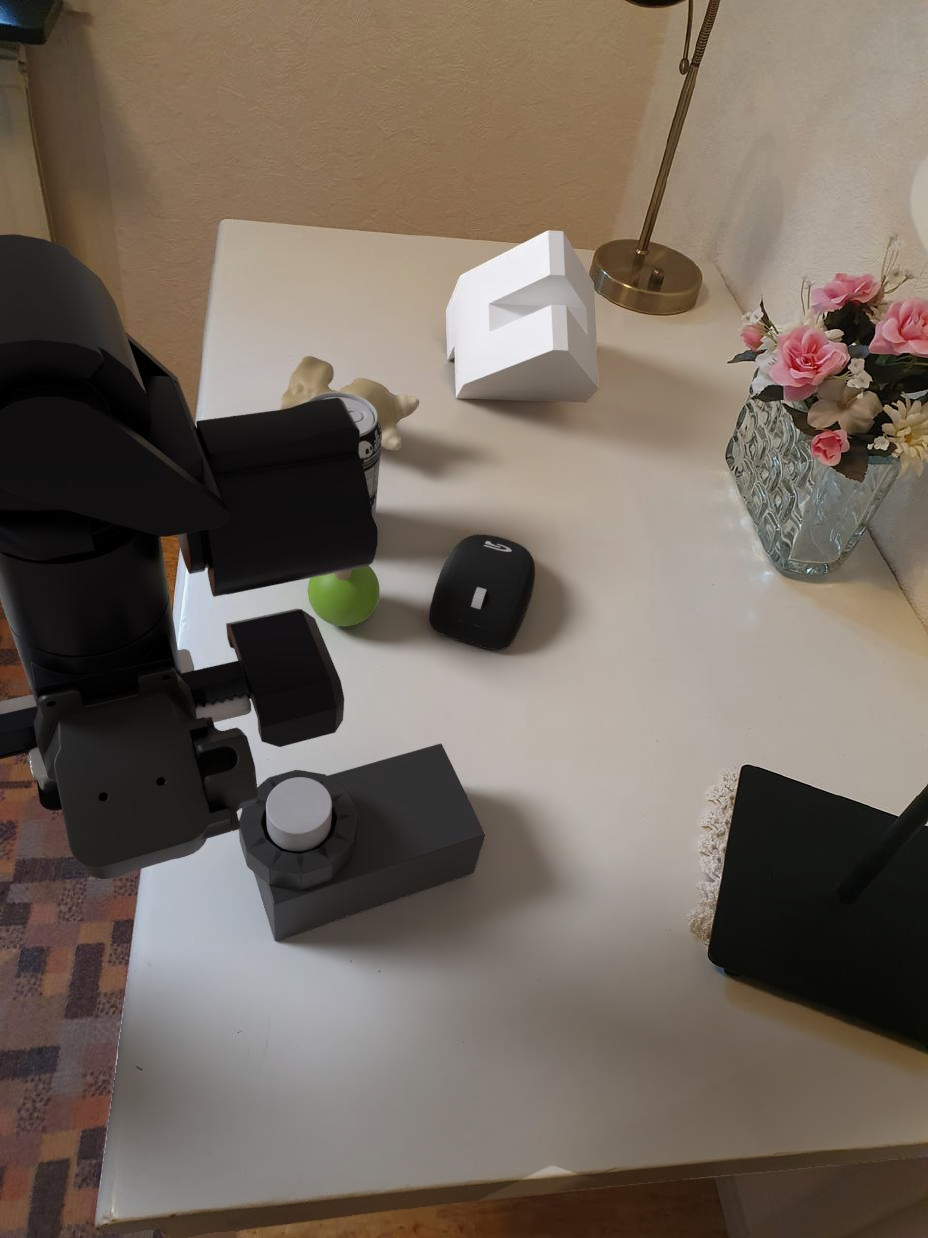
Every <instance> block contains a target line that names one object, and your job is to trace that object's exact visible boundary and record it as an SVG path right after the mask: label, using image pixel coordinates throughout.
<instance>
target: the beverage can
mask: <svg viewBox="0 0 928 1238" xmlns="http://www.w3.org/2000/svg"><path fill="white" fill-rule="evenodd" d="M337 397H338V398H340V399H341V400H343V401H344V403H345V405H346V407H347V409H348V410H349V412H350V414H351V416H352V418H353V419H354V421H355V423H356V425H357V427H358V429H359V430H360V439H359V456H360V459H361V462H362V466H363V469H364V473H365V476H366V481H367V486H368V491H369V496H370V504H371V511H372V517H373V519H374V521H375V522H376V511H377V499H378V488H379V487H378V486H379V474H380V465H381V464H380V463H381V453H382V452H381V451H382V446H381V441H382V429H381V426H380V424H379V422H378V414H377V411H376V409H375V407H374V406H373V405H372V404H371V403H370V402H369V401H367V400H366V399H364V398H362V397H360V396H357V395H354V394H350V393H345V392H328V393H323V394H319V395H316V396H314V397H312V398H311V399H309V400H308V401H307V402H310V401H315V400H322V399H330V398H337Z"/></svg>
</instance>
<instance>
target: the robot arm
mask: <svg viewBox="0 0 928 1238" xmlns="http://www.w3.org/2000/svg"><path fill="white" fill-rule="evenodd" d="M359 439H360V430H359V429H358V427H357V425H356V423H355V421H354V419H353V418H352V416H351V414H350V412H349V410H348V409H347V407H346V405H345V403H344V401H343V400H341V399H340V398H338V397H337V398H330V399H322V400H315V401H310V402H305V403H303V404H300V405H297V406H294V407H291V408H287V409H282V410H280V409H277V410H275V409H274V410H269V411H268V410H267V411H261V412H252V413H245V414H239V415H238V414H237V415H232V416H230V415H229V416H224V417H215V418H209V419H208V418H207V419H202V420H201V419H200V420H196V421H195V420H194V417H193V415H192V412H191V409H190V407H189V404H188V401H187V398H186V397H185V394H184V391H183V388H182V386H181V383H180V381H179V378H178V376H177V375H176V374H174V373H173V372H172V371H171V370H170V369H169V368H167V367H166V366H165V365H164V364H163V363H162V362H160V360H159V359H157V358H156V357H155V356H154V355H153V354H152V353H150V352H149V350H147V349H146V347H144V346H143V345H142V344H140V343H139V342H138V341H137V340H136V339H135V338H134V337H132V336H131V335H130V333H128V332H127V331H126V329H125V326H124V324H123V321H122V318H121V315H120V312H119V309H118V306H117V303H116V301H115V299H114V298H113V296H112V294H111V293H110V291H109V290H108V288H107V287H106V285H105V283H104V281H103V279H102V278H101V277H99V276H98V275H97V274H96V273H95V272H94V271H93V270H91V269H90V268H89V267H88V266H86V264H84V263H83V261H81V260H80V259H79V258H77V257H76V256H74V255H73V254H72V252H71V251H70V250H69V249H68V248H67V247H64V246H61V245H60V244H58V243H55V242H53V241H50V240H48V239H45V238H39V237H35V236H30V235H29V236H28V235H25V234H24V235H23V234H18V233H17V234H14V233H13V234H10V233H9V234H0V603H1V606H2V609H3V612H4V615H5V618H6V621H7V624H8V627H9V630H10V633H11V635H12V639H13V641H14V645H15V648H16V650H17V653H18V656H19V659H20V662H21V665H22V667H23V670H24V674H25V676H26V680H27V682H28V685H29V688H30V691H31V694H28V695H27V694H26V695H23V696H19V697H14V698H10V699H4V700H0V760H3V759H8V758H11V757H15V756H20V755H24V754H25V757H26V761H27V763H28V765H29V768H30V773H31V775H32V777H33V779H34V780H36V787H37V793H38V799H39V804H40V805H41V806H42V808H43V809H46V810H48V811H51V812H57V811H61V812H62V817H63V820H64V826H65V831H66V835H67V841H68V846H69V850H70V853H71V854H72V856H73V857H74V858H75V860H76V861H77V862H78V864H79V865H80V867H81V868H82V869H83V871H84V872H85V873H86V874H88V876H91V877H92V878H95V879H98V880H109V879H113V878H117V877H121V876H123V875H126V874H129V873H131V872H135V871H137V870H142V869H145V868H148V867H151V866H155V865H158V864H162V863H165V862H169V861H172V860H177V859H181V858H185V857H189V856H191V855H194V854H195V853H197V852H198V851H199V850H200V849H201V848H203V846H204V845H205V843H206V842H207V840H208V839H211V838H214V837H217V836H222V835H225V834H227V833H232V832H235V831H239V829H240V824H239V819H240V818H239V815H238V812H239V810H242V808H244V807H247V806H251V805H254V804H255V802H256V801H257V797H258V790H257V787H258V783H257V772H256V764H255V761H254V757H253V753H252V750H251V746H250V742H249V739H248V736H247V735H246V733H244V732H243V730H242V729H240V728H239V727H237V726H236V727H233V728H229V729H224V730H220V729H217V728H216V726H215V723H218V722H223V721H225V720H231V719H235V718H238V717H242V716H246V715H248V714H250V713H252V706H253V709H254V712H255V715H256V718H257V731H258V734H259V738H260V741H261V743H265V744H268V745H271V746H274V747H278V748H282V747H287V746H289V745H293V744H298V743H301V742H305V741H309V740H312V739H313V740H314V739H316V738H321V737H324V736H327V735H333V734H335V733H336V732H337V730H338V729H339V727H341V724H342V723H343V721H344V711H345V694H344V691H343V686H342V681H341V678H340V676H339V673H338V671H337V668H336V667H335V664H334V661H333V659H332V657H331V654H330V652H329V649H328V647H327V645H326V643H325V640H324V637H323V635H322V632H321V630H320V628H319V625H318V623H317V621H316V618H315V617H313V616H312V615H311V614H309V613H308V612H307V611H305V610H303V608H302V609H301V608H293V609H289V610H284V611H278V612H274V613H269V614H265V615H260V616H255V617H251V618H245V619H241V620H236V621H231V622H227V623H225V627H226V638H227V642H228V644H229V647H230V649H233V650H234V653H235V656H236V659H237V660H234V661H230V662H226V663H221V664H216V665H212V666H207V667H203V668H199V669H195V664H194V662H193V658H192V654H191V652H190V650H189V649H186V648H182V649H179V648H178V641H177V635H176V627H175V621H174V614H173V607H172V601H171V600H172V599H171V595H170V588H169V584H168V575H167V570H166V562H165V556H164V549H163V543H162V538H167V537H173V536H174V537H175V536H176V537H177V541H178V545H179V549H180V552H181V553H180V554H181V556H182V560H183V562H184V565H185V568H186V570H187V572H188V574H189V575H193V574H198V573H203V572H205V571H206V569H207V578H208V583H209V588H210V591H211V595H212V597H213V598H216V597H220V596H226V595H227V596H228V595H233V594H237V593H244V592H248V591H253V590H256V589H262V588H267V587H272V586H277V585H283V584H287V583H291V582H292V583H293V582H296V581H297V582H298V581H302V580H306V579H310V578H312V577H317V576H322V575H327V574H332V573H337V572H342V571H347V570H352V569H357V568H362V567H367V566H371V565H372V564H373V562H374V560H375V558H376V556H377V555H376V554H377V551H378V549H377V548H378V542H379V541H378V540H379V529H378V526H377V523H376V520H375V521H374V519H373V517H372V511H371V504H370V496H369V491H368V486H367V481H366V476H365V473H364V469H363V466H362V462H361V459H360V456H359Z"/></svg>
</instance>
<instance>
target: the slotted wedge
mask: <svg viewBox="0 0 928 1238" xmlns="http://www.w3.org/2000/svg"><path fill="white" fill-rule="evenodd" d="M595 299H596V297H595V283H594V280H593V279H592V277H591V276H590V274H589V272H588V271H587V269H586V267H585V266H584V264H583V262H582V260H581V258H579V256H578V254H577V252H576V250H575V249H574V247H573V246H572V243H571V242H570V241H569V239H568V237H567V235H566V234H565V232H564V231H563V230H549V229H548V230H546V231H544V232H542V233H540V234H538V235H536V236H534V237H532V238H529V239H528V240H526V241H524V242H522V243H520V244H518V245H516V246H515V247H512V248H510V249H509V250H507V251H505V252H503V253H501V254H499V255H497V256H495V257H493V258H491V259H489V260H487V261H485V262H483V263H481V264H479V265H477V266H475V267H473V268H472V269H470V270H467V271H466V272H463V273H462V274H461V275H460V274H459V276H458V278H457V282H456V285H455V287H454V289H453V292H452V294H451V296H450V299H449V301H448V304H447V307H446V309H445V328H446V333H445V334H446V361H448V360H449V358H450V356H451V354H452V352H453V351H454V378H455V379H454V380H455V381H454V382H455V399H462V400H463V399H466V400H494V401H495V400H496V401H497V400H500V401H525V402H526V401H527V402H528V401H529V402H554V403H555V402H559V403H587V402H588V401H589V400H590V399H591V398H592V397H593V396H594V395H595V394H596V393H597V392H598V391H599V389H600V388H599V387H600V386H599V366H598V362H599V361H598V346H597V345H598V342H597V340H598V339H597V323H596V322H597V321H596V300H595Z"/></svg>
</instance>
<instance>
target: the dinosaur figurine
mask: <svg viewBox="0 0 928 1238" xmlns="http://www.w3.org/2000/svg"><path fill="white" fill-rule="evenodd" d="M334 371H335V370H334V366H333V365H332V364H331V363H330V362H328V361H326V360H323V359H320V358H318V357H315V356H313V355H305V356H304V357H303V358H301V360H300V362H299V363H298V364H297V366H296V368H295V370H293V372H292V373H291V375H290V377H289V384H288V387H287V389H286V390H285V392H284V393H283V394H282V396H281V404H280V405H281V406H280V408H279V410H282V409H287V408H291V407H294V406H297V405H300V404H303V403H305V402H307V401H308V400H309V399H311V398H312V397H314V396H316V395H319V394H323V393H328V392H345V393H350V394H354V395H357V396H360V397H362V398H364V399H366V400H367V401H369V402H370V403H371V404H372V405H373V406H374V407H375V409H376V411H377V414H378V422H379V424H380V426H381V429H382V441H381V448H384V449H385V450H389V451H397V450H399V449H400V448H401V447H402V445H403V444H402V438H401V435H400V431H399V430H398V428H397V425H398V423H399V422H400V421H401V420H403V419H405V418H407V417H409V416H410V415H412V414H413V413H414V412H415V411H416V410H417V409H418V408H419V405H420V399H419V398H418V397H416V396H413V395H408V394H394V393H392V392H390V390H389V389H388V388H387V387H386V386H385V385H383V384H382V383H379V382H377V381H375V380H372V379H369V378H365V377H356V378H355V379H353V380H352V381H351V383H350V384H347V385H345V386H343V387H340V389H338V390H334V389H332V388H330V387H329V385H330V384H331V383H332V381H333V380H334V377H335V376H334V375H335V374H334V373H335V372H334Z"/></svg>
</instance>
